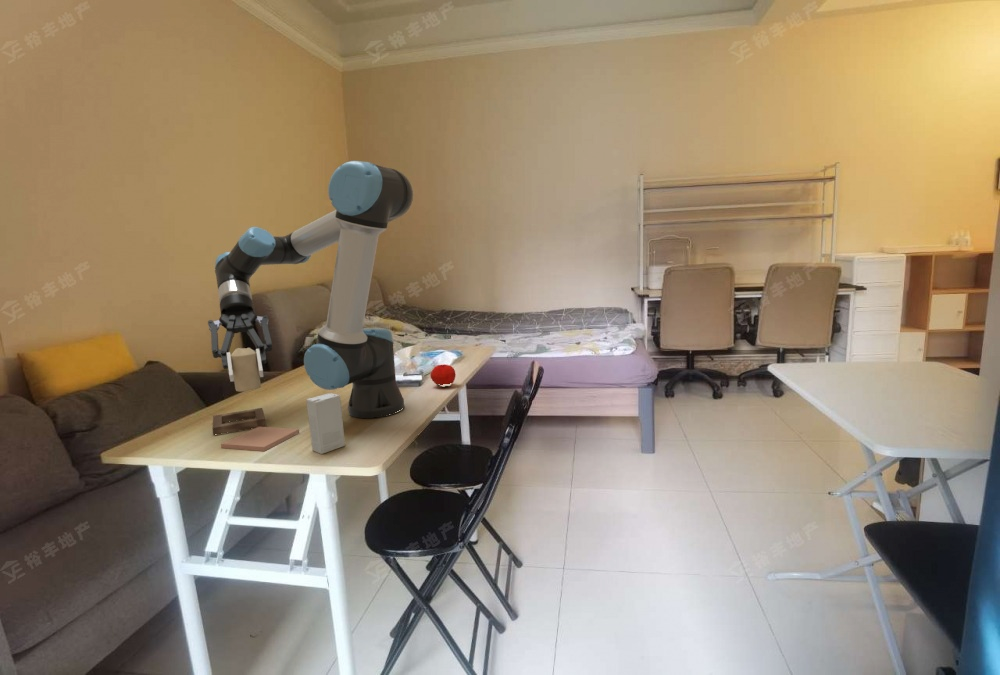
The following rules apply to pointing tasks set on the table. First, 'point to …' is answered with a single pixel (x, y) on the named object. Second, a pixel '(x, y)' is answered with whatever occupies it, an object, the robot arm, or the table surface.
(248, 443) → the terracotta tile
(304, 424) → the table surface
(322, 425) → the skincare box
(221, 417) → the walnut holder
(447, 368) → the apple
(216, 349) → the robot arm
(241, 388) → the candle
